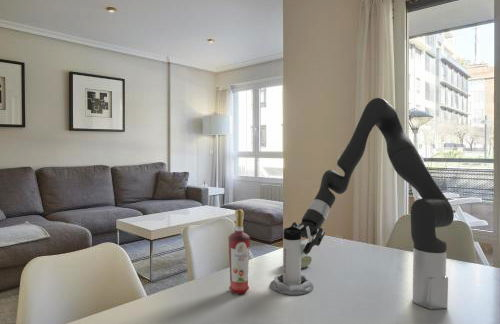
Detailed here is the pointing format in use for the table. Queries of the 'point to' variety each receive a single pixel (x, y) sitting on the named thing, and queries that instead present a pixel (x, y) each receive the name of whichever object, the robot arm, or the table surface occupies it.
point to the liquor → (239, 256)
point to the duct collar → (292, 286)
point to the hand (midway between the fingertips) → (295, 250)
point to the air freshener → (304, 256)
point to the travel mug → (292, 256)
